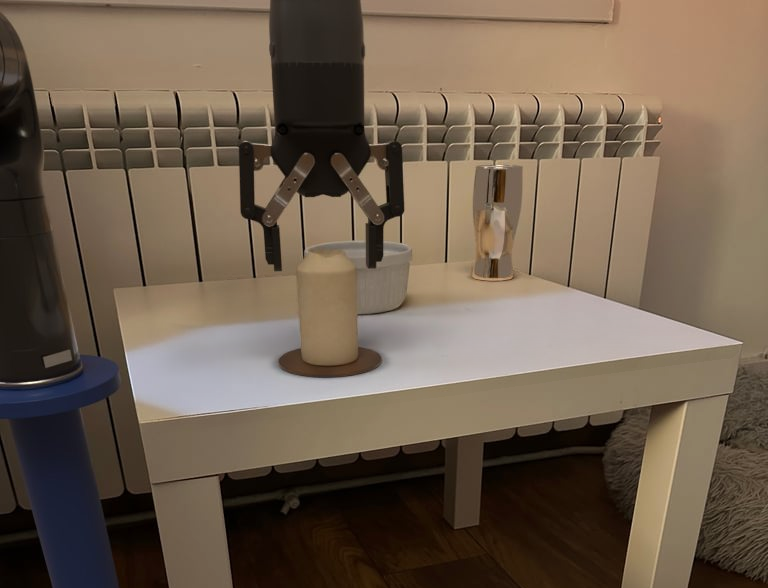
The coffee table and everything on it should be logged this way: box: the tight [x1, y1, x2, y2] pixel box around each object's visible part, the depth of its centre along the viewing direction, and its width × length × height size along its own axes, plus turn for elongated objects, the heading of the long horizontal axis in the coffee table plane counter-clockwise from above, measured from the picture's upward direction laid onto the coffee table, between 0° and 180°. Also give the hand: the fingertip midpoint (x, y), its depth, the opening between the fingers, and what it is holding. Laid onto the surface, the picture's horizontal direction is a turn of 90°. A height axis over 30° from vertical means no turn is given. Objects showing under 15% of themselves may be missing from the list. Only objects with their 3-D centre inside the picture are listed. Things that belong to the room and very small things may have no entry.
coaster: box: [277, 346, 383, 378], centre depth 71 cm, size 10×10×1 cm
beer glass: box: [471, 164, 524, 282], centre depth 105 cm, size 7×7×15 cm
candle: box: [295, 248, 359, 366], centre depth 68 cm, size 6×6×10 cm
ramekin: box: [303, 239, 413, 315], centre depth 91 cm, size 13×13×7 cm
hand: (324, 268), depth 66 cm, fingers open, 8 cm apart
